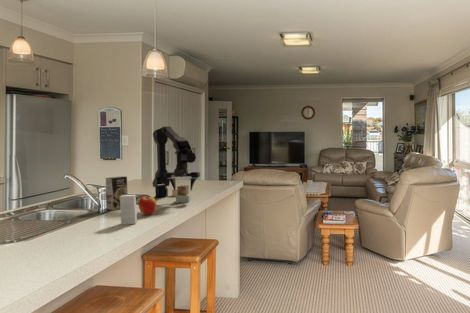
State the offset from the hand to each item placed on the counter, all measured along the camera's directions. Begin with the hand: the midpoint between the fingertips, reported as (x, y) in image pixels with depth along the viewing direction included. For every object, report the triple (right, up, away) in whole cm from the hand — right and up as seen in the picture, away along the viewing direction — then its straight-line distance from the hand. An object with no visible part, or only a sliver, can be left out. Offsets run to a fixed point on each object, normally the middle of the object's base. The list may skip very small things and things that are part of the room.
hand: (183, 190), depth 248 cm
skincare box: (-16, -10, -57) cm, 60 cm away
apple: (-12, -9, -37) cm, 40 cm away
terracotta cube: (-7, -5, +24) cm, 25 cm away
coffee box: (-32, -8, -16) cm, 36 cm away
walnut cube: (0, -2, 0) cm, 2 cm away
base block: (0, -6, 0) cm, 6 cm away
